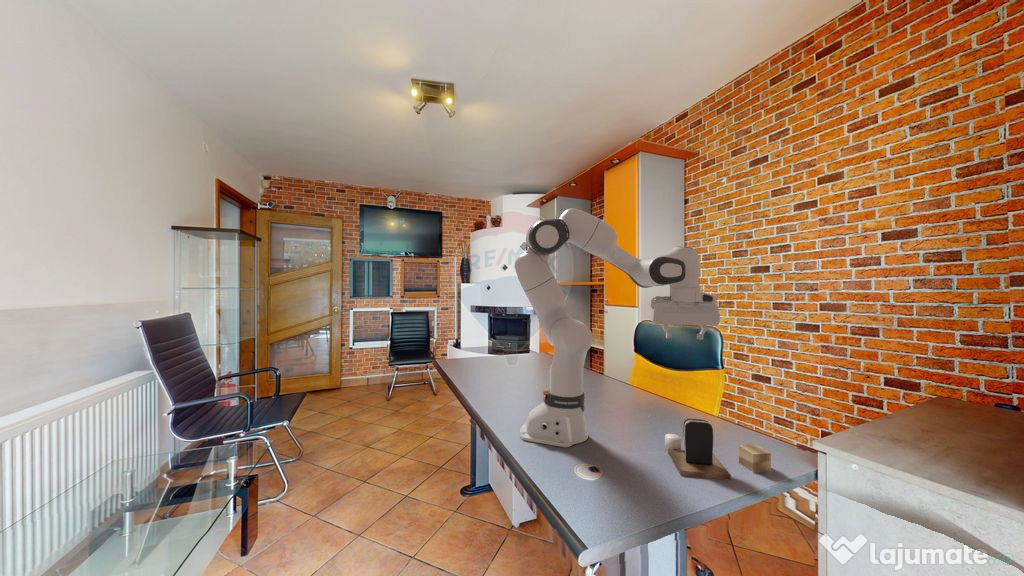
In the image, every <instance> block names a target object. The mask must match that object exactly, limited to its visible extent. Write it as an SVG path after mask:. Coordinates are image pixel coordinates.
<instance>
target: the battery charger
mask: <svg viewBox="0 0 1024 576" xmlns="http://www.w3.org/2000/svg"><path fill="white" fill-rule="evenodd" d="M682 427H683V429H682V430H683V431H682V434H683V438H684V439H683V440H684V443H683V444H684V450H685V461H686V462H688V463H694V464H702V465H713V454H714V453H713V450H714V429H713V425H712V424H711V423H710V422H708V420H706V419H700V418H686V419H684V421H683V426H682Z"/></svg>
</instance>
